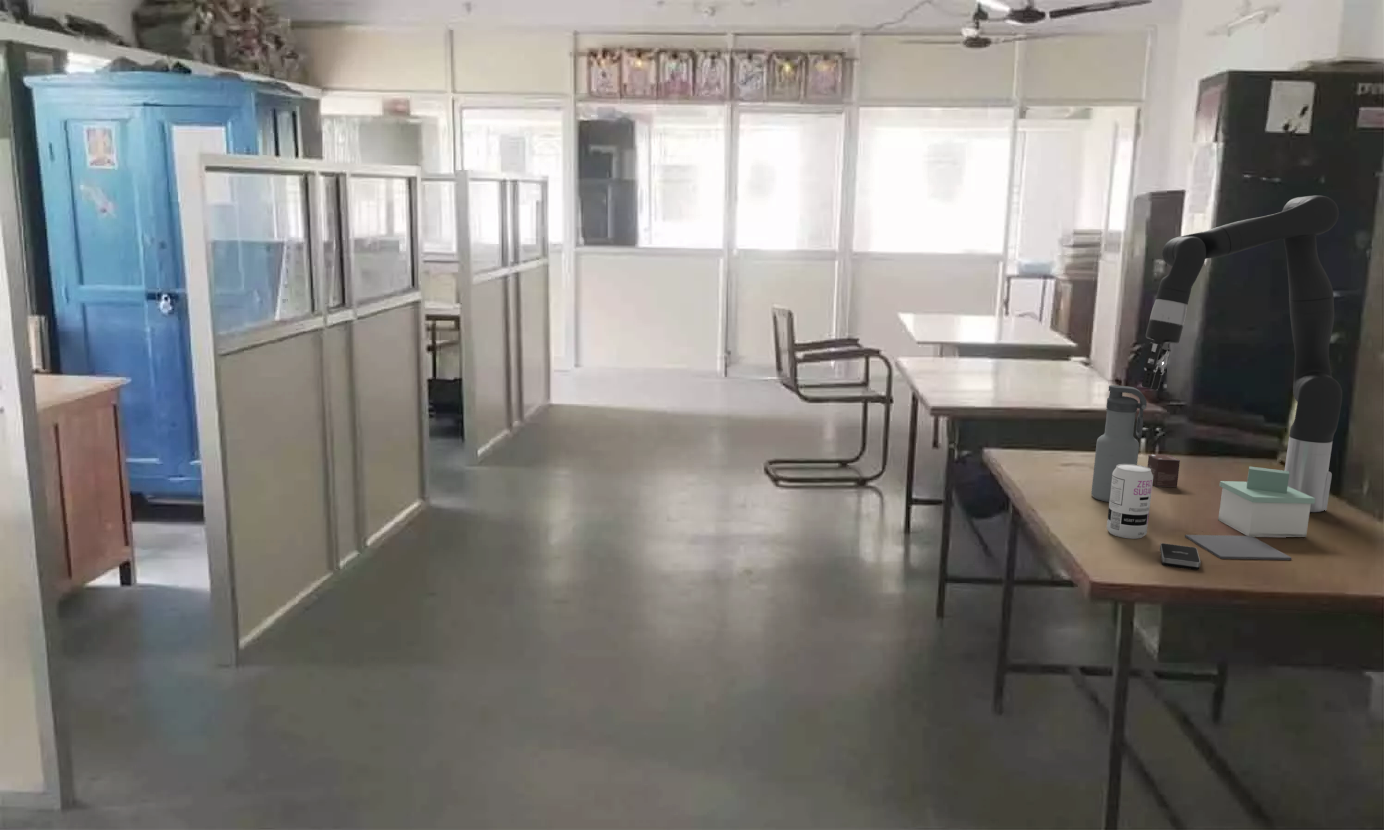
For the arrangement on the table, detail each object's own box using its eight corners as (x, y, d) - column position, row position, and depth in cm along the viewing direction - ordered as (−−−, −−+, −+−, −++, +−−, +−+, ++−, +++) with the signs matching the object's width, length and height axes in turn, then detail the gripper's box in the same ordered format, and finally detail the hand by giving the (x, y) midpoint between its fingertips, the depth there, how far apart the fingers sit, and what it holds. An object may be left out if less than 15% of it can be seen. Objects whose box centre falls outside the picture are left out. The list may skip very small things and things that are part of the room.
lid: (1277, 491, 253) (1281, 463, 252) (1313, 507, 239) (1318, 478, 238) (1218, 490, 252) (1222, 462, 251) (1252, 506, 239) (1256, 477, 237)
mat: (1251, 538, 239) (1251, 535, 239) (1291, 559, 225) (1291, 557, 225) (1184, 536, 239) (1185, 534, 239) (1220, 558, 224) (1220, 556, 224)
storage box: (1272, 521, 254) (1277, 487, 252) (1305, 537, 241) (1310, 502, 240) (1218, 520, 253) (1222, 486, 252) (1248, 536, 240) (1253, 501, 239)
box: (1177, 487, 283) (1180, 460, 282) (1154, 486, 283) (1157, 459, 282) (1168, 481, 289) (1171, 454, 288) (1145, 481, 289) (1148, 454, 288)
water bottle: (1132, 495, 273) (1144, 385, 268) (1136, 505, 264) (1149, 391, 258) (1089, 491, 275) (1100, 382, 270) (1092, 501, 266) (1104, 388, 261)
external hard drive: (1195, 556, 226) (1196, 547, 226) (1199, 572, 216) (1200, 563, 215) (1159, 551, 228) (1160, 542, 228) (1161, 567, 218) (1162, 558, 218)
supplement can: (1113, 526, 245) (1120, 461, 242) (1151, 534, 240) (1159, 467, 237) (1100, 533, 239) (1108, 467, 236) (1139, 541, 234) (1147, 474, 231)
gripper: (1178, 321, 248) (1161, 390, 250) (1188, 326, 260) (1171, 393, 262) (1144, 315, 252) (1127, 383, 254) (1155, 321, 264) (1139, 386, 266)
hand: (1149, 388), depth 258 cm, fingers open, 8 cm apart
